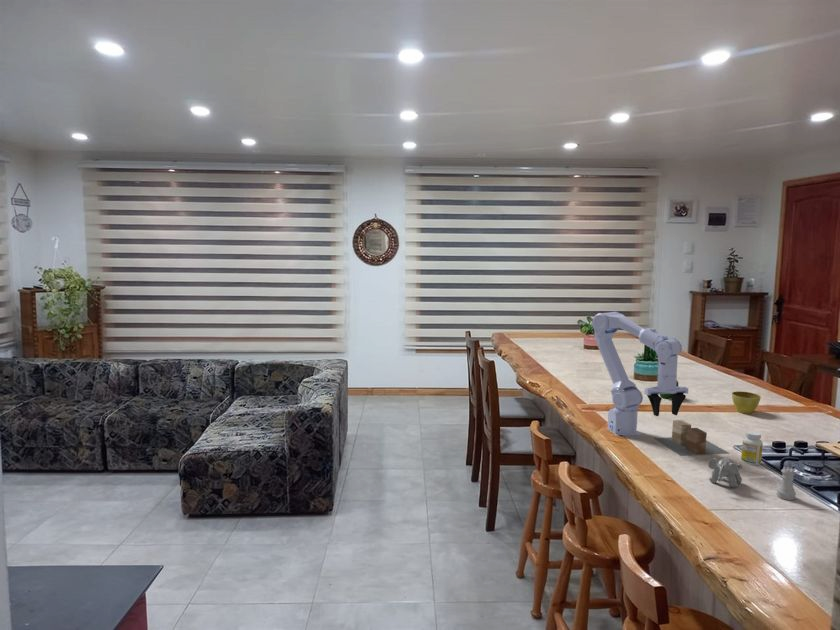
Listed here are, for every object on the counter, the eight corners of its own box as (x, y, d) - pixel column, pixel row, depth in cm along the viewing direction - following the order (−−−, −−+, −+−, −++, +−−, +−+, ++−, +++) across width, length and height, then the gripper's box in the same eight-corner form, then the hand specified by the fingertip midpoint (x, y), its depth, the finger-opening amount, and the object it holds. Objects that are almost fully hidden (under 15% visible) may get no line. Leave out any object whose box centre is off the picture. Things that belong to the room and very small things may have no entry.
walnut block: (695, 454, 179) (696, 433, 178) (685, 448, 184) (687, 428, 183) (705, 453, 179) (706, 432, 178) (695, 448, 184) (697, 427, 183)
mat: (680, 456, 178) (680, 455, 178) (653, 439, 193) (653, 438, 193) (729, 454, 180) (729, 453, 180) (698, 437, 196) (698, 436, 196)
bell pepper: (673, 394, 250) (675, 373, 248) (680, 400, 242) (681, 377, 240) (654, 394, 251) (655, 372, 249) (660, 399, 242) (661, 376, 241)
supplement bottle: (748, 466, 170) (751, 436, 169) (736, 459, 176) (739, 430, 174) (765, 465, 171) (767, 435, 170) (753, 459, 176) (755, 429, 175)
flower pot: (763, 416, 219) (765, 398, 218) (735, 414, 221) (736, 397, 220) (753, 409, 229) (755, 392, 228) (726, 407, 231) (728, 390, 230)
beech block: (680, 445, 187) (681, 425, 186) (671, 440, 192) (673, 420, 191) (690, 444, 187) (691, 424, 186) (681, 439, 192) (682, 420, 191)
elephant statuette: (739, 481, 161) (741, 454, 160) (748, 496, 150) (750, 468, 149) (704, 476, 164) (705, 451, 163) (710, 491, 153) (711, 464, 152)
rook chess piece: (788, 493, 152) (791, 465, 151) (799, 500, 148) (802, 472, 147) (772, 493, 152) (774, 465, 151) (783, 501, 148) (786, 472, 147)
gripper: (653, 378, 180) (651, 419, 182) (694, 377, 182) (692, 417, 184) (641, 373, 187) (640, 413, 189) (682, 372, 189) (680, 411, 191)
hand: (665, 414), depth 187 cm, fingers open, 6 cm apart
